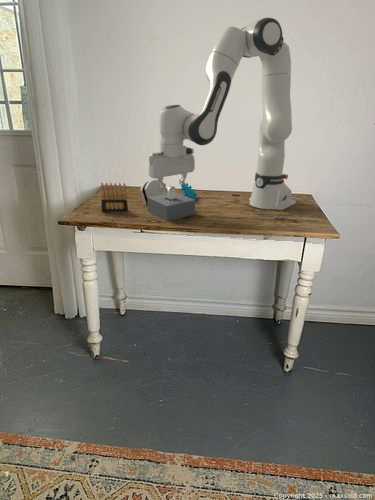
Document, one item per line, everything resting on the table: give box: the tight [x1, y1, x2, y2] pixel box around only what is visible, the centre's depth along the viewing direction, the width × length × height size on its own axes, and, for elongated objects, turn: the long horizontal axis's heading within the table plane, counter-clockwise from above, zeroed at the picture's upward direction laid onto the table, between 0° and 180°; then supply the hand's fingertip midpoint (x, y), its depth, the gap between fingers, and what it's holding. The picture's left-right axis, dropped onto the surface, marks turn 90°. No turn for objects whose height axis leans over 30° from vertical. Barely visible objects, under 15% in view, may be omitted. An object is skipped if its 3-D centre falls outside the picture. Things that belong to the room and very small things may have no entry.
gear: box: [180, 182, 198, 201], centre depth 161 cm, size 11×6×10 cm
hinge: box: [139, 179, 167, 206], centre depth 158 cm, size 17×5×10 cm, turn 163°
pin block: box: [147, 192, 196, 222], centre depth 142 cm, size 14×14×6 cm
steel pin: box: [167, 185, 176, 201], centre depth 141 cm, size 3×3×10 cm
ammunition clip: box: [100, 182, 129, 213], centre depth 141 cm, size 11×2×12 cm, turn 94°
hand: (172, 186), depth 138 cm, fingers open, 8 cm apart
